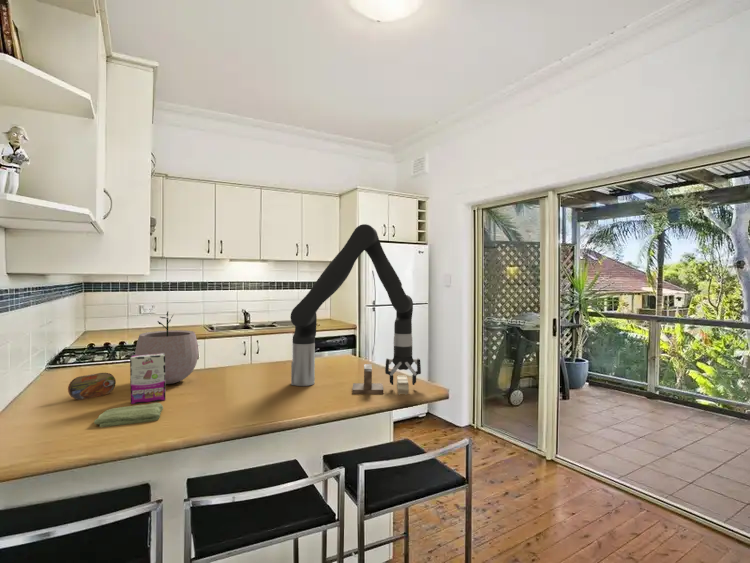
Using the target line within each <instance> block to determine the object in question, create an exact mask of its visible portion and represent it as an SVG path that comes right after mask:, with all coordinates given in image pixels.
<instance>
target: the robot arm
mask: <svg viewBox="0 0 750 563" xmlns="http://www.w3.org/2000/svg"><path fill="white" fill-rule="evenodd" d="M364 251H365V252H366V254H367V255H368V256H369V258H370V260H371V262H372V264H373V266H374V269H375V271H376V274H377V276H378V278H379V280H380V282H381V283H382V286H383V288H384V290H385V291H386V292H387V295H388V299H389V301H390V303H391V306H392V308H393V309H394V310H395V311H396V315H395V316H396V317H395V320H394V326H393V328H394V330H393V331H394V333H393V343H392V344H393V358H386V359H385V368H384V371H385V375H388V376H389V384H391V386H393V385H394V374H395V373H396V372H397V370H398V371H402V370H404V371H408V370H409V371H410V373H411V374H412V375H411V376H412V377H411V378H412V379H411V384H412V386H415V384H417V376H418V375H421V374H422V368H421V367H422V366H421V359H420V358H418V357H417V358H414V357H413V333H412V332H413V323H412V321H413V320H412V318H413V311H414V301H413V299H412V297H411V296H409V295H408V294H406V291H405V290H404V288H403V284H402V281H401V280H400V277H399V275H398V274H397V272H396V271H395V269H394V267H393V266H392V264H391V262H390V260H389V259H388V257H387V255H386V253H385V251H384V248H383V246H382V244H381V241H380V239H379V235H378V232H377V230H376V229H375V228H374V227H373V226H372V225H370V224H367V223H362V224H360V225H358V226H357V227H356V228H354V230H353V232H352V233H351V235H350V236H349V238H348V240H347V241H346V243H345V244H344V246H343V247H342V248H341V250H340V251H339V252H338V253H337V254H336V255H335V257H334V258H333V259H332V260H331V262H330V263H329V264H327V267H326V268H325V269H324V270H323V271H322V272H321V274H320V276H319V277H318V278H317V280H316V281H315V282H314V284H313V285H312V287H311V288H310V290H309V292H308V293H307V294H306V295H305V296H303V298H302V299H301V300H300V302H298V303H297V304H296V305H295V306H294V307H293V309H292V310H291V313H290V316H289V317H290V322H291V324H292V325H293V326H295V327H294V333H293V335H292V361H291V365H290V366H291V367H290V368H291V372H290V374H291V375H290V377H291V378H290V379H291V380H290V381H291V383H290V385H291V386H297V387H308V386H312V385H315V379H316V378H315V372H316V370H315V368H316V364H315V362H316V361H315V359H316V356H315V355H316V348H315V347H316V343H315V342H316V341H315V340H316V335H317V324H318V323H317V322H318V321H317V319H318V318H317V312H318V310H319V309H320V307H321V306H322V305H323V303H325V302H326V301H327V300H328V299H329V298H330V297H332V295H334V294H335V293H336V292H337V291H338V290H339V288H340V287H342V285H343V284H344V283H345V281H346V280H347V279H348V277H349V275H350V273H351V272H352V269H353V268H354V267H353V266H354V265H355V263H356V262H357V260H358V259H359V258H360V256H361V255H362V253H363V252H364ZM392 363H393V364H394V366H393V367H392V368H391V370H390V369H389V368H390V365H392ZM413 363H415V365H416V370H415V369H414V368H413V367H412V365H413Z"/></svg>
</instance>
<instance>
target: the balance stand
mask: <svg viewBox="0 0 750 563" xmlns="http://www.w3.org/2000/svg"><path fill="white" fill-rule="evenodd" d="M372 366H373V364H372V363H363V383H361V382H358V383H356V382H354V383H352V388H351V390H352V391H351V392H352V394H365V395H367V394H368V395H371V394H372V395H373V394H377V395H380V394H381V395H382V394H384V384H383V383H381V382H377V383H375V382H373V367H372Z"/></svg>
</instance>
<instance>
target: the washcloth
mask: <svg viewBox="0 0 750 563" xmlns="http://www.w3.org/2000/svg"><path fill="white" fill-rule="evenodd" d="M163 410H164V406H163V404H162V403H160V402H151V403H148V404H138V405H132V406H131V405H128V406H120V407H114V408H110V409H106V410H104V412H103V413H101V414H99V415H98V418H96V419H94V421H93V423H94V425H99V428H106V427H107V428H108V427H115V426H124V425H133V424H139V423H149V422H154V421H155V422H156V421H159V419H160V418H161V415H162V414H161V413H162V412H163Z"/></svg>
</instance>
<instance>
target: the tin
mask: <svg viewBox="0 0 750 563" xmlns="http://www.w3.org/2000/svg"><path fill="white" fill-rule="evenodd" d="M116 383H117V382H116V378H115V376H114V375H113V374H112V373H109V372H99V373H93V374H87V375H81V376H77V377H74V378H73V379H72V380H71V381H70V383H69V384H68V385H67V387H68V388H67V392H68V395H70V397H72V399H76V400H78V401H83V400H87V399H88V400H89V399H92V398H97V397H101V396H106V395H108V394H110V393H111V392H112V391H114V389H115V387H116Z"/></svg>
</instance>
